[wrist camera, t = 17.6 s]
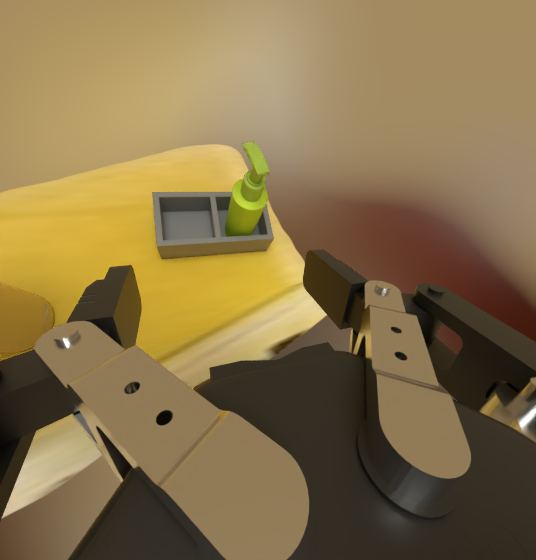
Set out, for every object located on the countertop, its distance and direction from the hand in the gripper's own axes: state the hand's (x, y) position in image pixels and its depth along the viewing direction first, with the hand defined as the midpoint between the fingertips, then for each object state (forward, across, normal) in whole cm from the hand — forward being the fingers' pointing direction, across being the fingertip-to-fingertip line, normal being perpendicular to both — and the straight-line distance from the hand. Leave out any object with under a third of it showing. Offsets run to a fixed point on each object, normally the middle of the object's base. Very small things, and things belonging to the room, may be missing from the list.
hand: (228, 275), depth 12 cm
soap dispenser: (+40, -9, +11) cm, 42 cm away
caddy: (+40, -4, +11) cm, 42 cm away
